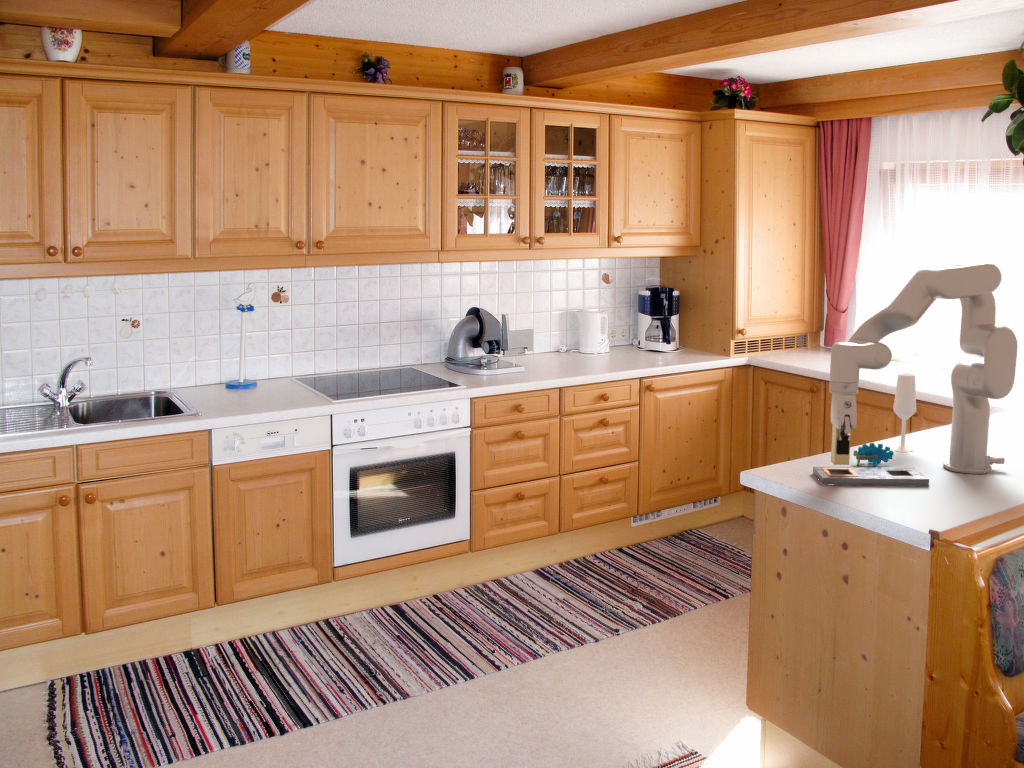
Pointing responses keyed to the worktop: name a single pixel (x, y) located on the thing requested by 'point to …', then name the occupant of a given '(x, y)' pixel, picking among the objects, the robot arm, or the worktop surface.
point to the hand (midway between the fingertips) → (840, 451)
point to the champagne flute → (904, 405)
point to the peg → (835, 457)
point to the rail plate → (870, 476)
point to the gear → (873, 454)
